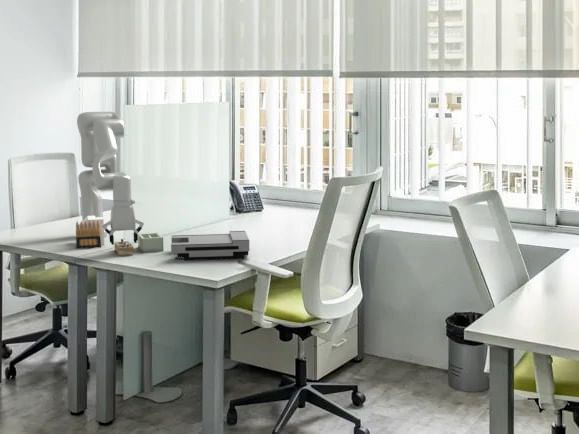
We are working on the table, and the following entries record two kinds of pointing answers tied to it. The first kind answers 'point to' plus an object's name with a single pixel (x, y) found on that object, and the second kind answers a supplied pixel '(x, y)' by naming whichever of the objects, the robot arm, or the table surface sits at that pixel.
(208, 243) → the grey printer
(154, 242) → the green compartment box
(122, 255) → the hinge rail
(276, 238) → the table surface
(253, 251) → the table surface
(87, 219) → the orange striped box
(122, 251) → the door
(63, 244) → the table surface
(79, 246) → the ammunition clip
